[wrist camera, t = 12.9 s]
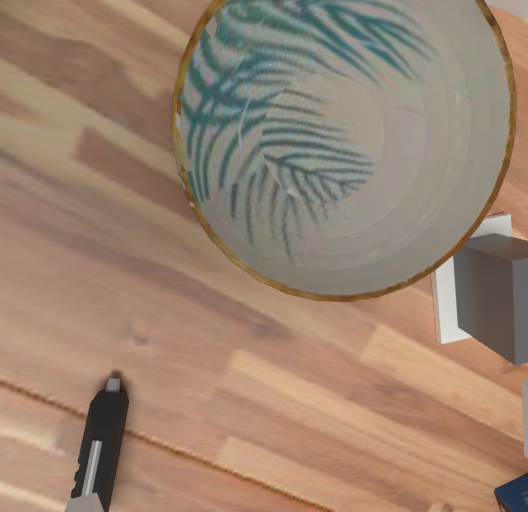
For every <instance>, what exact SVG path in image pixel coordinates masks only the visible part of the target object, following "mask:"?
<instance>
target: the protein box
mask: <svg viewBox="0 0 528 512" xmlns="http://www.w3.org/2000/svg"><path fill="white" fill-rule="evenodd" d="M494 492H495V495H496V498H497V501H498V503H499V506H500V509H501V512H528V474H526V475H524V476H522V477H520V478H518V479H515V480H513V481H511V482H509V483H507V484H505V485H503V486H501V487H499V488H497V489H495V491H494Z"/></svg>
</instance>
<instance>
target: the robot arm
mask: <svg viewBox="0 0 528 512" xmlns="http://www.w3.org/2000/svg"><path fill="white" fill-rule="evenodd" d="M522 403H523V435H524V455H525V456H526V457H527V458H528V380H527V381H523V382H522ZM64 512H104V511H103V508H102V505H101V503H100V500H99V497H98V494H97V492H96V493H92V494H88V495H85V496H81V497H77V498H73V499H69V502H68V504H67V507H66V509H65V511H64Z"/></svg>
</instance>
